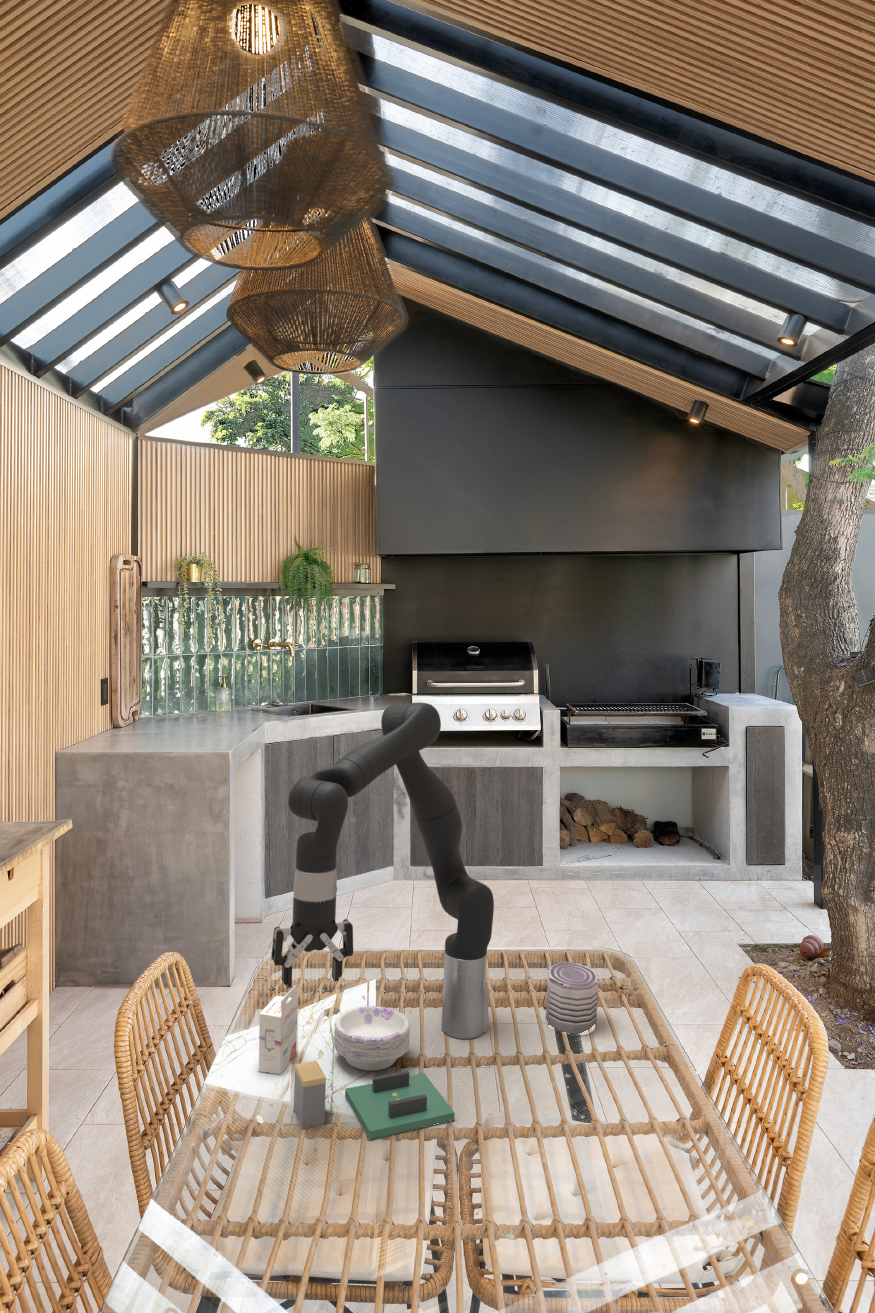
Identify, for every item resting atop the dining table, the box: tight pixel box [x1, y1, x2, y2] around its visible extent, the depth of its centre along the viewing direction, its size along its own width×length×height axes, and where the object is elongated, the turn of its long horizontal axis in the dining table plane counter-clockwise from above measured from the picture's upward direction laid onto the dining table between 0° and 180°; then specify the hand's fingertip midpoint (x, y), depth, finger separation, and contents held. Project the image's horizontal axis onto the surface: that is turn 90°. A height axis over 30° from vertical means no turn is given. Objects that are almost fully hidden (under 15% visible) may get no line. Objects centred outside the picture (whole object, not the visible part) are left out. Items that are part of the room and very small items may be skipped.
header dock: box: [344, 1070, 455, 1141], centre depth 155 cm, size 16×14×4 cm
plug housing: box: [293, 1060, 327, 1130], centre depth 151 cm, size 4×6×8 cm, turn 24°
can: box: [545, 960, 600, 1034], centre depth 189 cm, size 11×11×12 cm
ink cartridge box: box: [258, 984, 299, 1075], centre depth 168 cm, size 9×5×15 cm, turn 168°
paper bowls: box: [333, 1005, 411, 1072], centre depth 171 cm, size 15×15×8 cm
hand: (311, 982), depth 150 cm, fingers open, 8 cm apart
